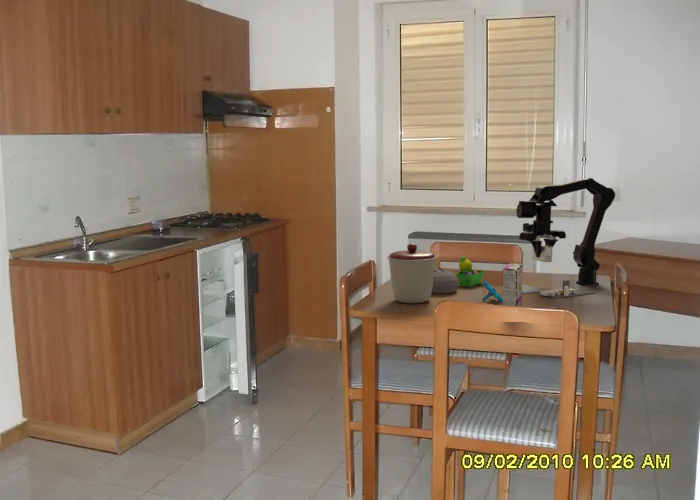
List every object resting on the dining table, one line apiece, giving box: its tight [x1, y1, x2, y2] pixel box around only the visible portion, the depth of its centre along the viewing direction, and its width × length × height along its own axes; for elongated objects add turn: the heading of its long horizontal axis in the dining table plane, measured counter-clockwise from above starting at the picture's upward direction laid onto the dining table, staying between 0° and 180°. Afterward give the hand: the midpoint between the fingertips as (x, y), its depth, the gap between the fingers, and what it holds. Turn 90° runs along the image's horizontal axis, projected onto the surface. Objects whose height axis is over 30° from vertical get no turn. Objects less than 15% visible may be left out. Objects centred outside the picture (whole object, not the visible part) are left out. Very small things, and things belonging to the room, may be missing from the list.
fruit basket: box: [455, 256, 485, 288], centre depth 294 cm, size 11×9×11 cm
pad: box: [522, 284, 546, 295], centre depth 282 cm, size 10×13×1 cm
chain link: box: [531, 243, 553, 263], centre depth 288 cm, size 4×10×6 cm, turn 24°
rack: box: [539, 279, 576, 297], centre depth 270 cm, size 13×5×4 cm, turn 115°
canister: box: [386, 243, 438, 304], centre depth 263 cm, size 18×18×21 cm
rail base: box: [538, 286, 596, 299], centre depth 272 cm, size 19×9×4 cm, turn 115°
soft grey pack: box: [431, 267, 459, 294], centre depth 284 cm, size 15×8×20 cm
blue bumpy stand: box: [481, 280, 503, 303], centre depth 262 cm, size 11×6×10 cm
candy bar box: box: [502, 263, 523, 307], centre depth 239 cm, size 11×5×16 cm, turn 158°
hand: (542, 257), depth 288 cm, fingers closed on chain link, 4 cm apart
